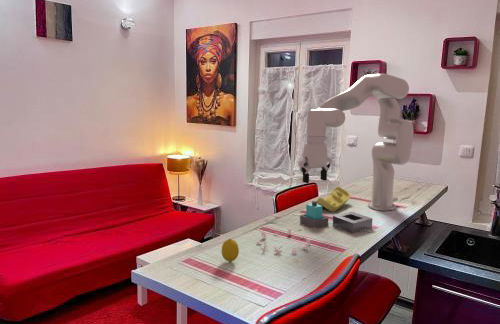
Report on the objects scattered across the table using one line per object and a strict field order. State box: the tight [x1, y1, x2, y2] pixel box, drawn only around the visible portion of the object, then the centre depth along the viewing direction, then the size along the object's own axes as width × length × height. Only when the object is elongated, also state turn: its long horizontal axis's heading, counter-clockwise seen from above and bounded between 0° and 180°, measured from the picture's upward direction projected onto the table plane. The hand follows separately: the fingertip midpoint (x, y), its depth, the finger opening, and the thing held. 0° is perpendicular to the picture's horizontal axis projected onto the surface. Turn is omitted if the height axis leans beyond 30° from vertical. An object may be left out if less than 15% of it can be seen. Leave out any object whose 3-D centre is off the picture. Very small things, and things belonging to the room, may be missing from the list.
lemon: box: [221, 238, 240, 263], centre depth 119 cm, size 6×6×8 cm
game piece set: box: [256, 227, 311, 255], centre depth 134 cm, size 19×20×4 cm
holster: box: [299, 213, 329, 229], centre depth 156 cm, size 8×9×3 cm
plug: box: [305, 200, 323, 220], centre depth 155 cm, size 4×6×10 cm
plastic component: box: [316, 186, 351, 213], centre depth 182 cm, size 20×8×10 cm
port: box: [332, 211, 373, 234], centre depth 152 cm, size 11×11×4 cm
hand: (314, 181), depth 153 cm, fingers open, 9 cm apart
